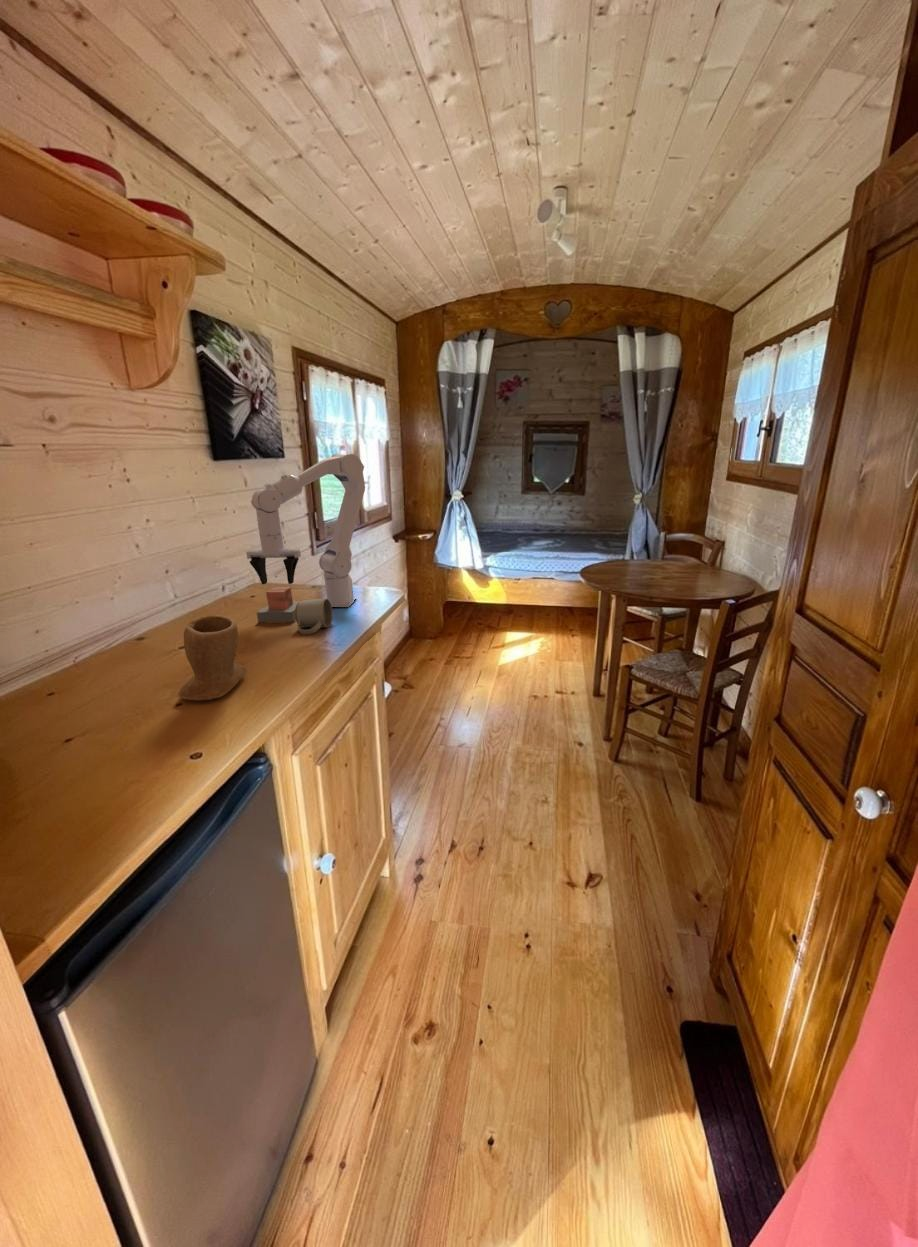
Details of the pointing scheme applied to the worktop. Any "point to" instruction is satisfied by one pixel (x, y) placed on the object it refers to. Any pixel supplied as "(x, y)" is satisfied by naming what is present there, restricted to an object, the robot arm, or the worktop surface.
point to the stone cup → (211, 657)
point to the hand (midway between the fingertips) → (277, 583)
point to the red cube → (279, 598)
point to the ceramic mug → (313, 614)
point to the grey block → (277, 614)
